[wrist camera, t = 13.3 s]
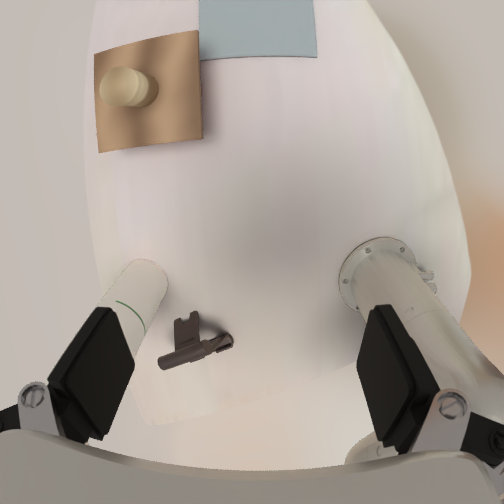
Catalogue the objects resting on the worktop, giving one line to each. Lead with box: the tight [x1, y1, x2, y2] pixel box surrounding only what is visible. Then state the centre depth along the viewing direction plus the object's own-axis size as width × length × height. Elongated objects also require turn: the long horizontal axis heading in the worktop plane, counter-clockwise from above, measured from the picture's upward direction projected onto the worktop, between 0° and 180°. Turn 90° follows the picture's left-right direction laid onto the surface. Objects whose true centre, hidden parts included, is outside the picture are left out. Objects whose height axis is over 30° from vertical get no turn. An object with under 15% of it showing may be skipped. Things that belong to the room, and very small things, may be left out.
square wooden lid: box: [94, 30, 203, 153], centre depth 23 cm, size 12×12×7 cm
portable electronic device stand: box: [158, 311, 234, 370], centre depth 42 cm, size 9×8×8 cm
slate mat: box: [199, 0, 317, 61], centre depth 26 cm, size 14×14×1 cm
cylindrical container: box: [44, 259, 168, 386], centre depth 31 cm, size 7×7×25 cm
